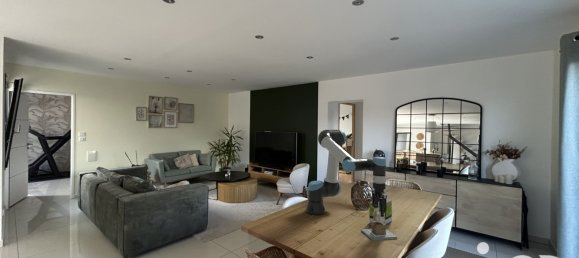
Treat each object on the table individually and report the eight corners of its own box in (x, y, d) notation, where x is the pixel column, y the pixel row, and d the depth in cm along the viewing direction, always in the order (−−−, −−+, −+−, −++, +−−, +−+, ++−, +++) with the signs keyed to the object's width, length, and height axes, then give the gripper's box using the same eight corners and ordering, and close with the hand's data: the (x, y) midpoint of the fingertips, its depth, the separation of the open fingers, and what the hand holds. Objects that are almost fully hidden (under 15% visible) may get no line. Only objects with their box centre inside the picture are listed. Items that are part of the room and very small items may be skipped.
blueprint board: (361, 230, 160) (361, 228, 160) (383, 229, 163) (383, 227, 163) (372, 240, 147) (372, 238, 147) (397, 238, 150) (397, 236, 150)
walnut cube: (371, 231, 157) (371, 221, 157) (380, 230, 158) (380, 221, 158) (376, 235, 151) (377, 225, 151) (385, 234, 152) (386, 224, 152)
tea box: (378, 217, 185) (379, 197, 185) (392, 221, 178) (392, 200, 178) (368, 222, 175) (369, 201, 174) (382, 227, 167) (383, 204, 167)
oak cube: (373, 219, 157) (373, 211, 157) (380, 218, 158) (380, 210, 158) (377, 222, 152) (377, 214, 152) (384, 221, 153) (384, 213, 153)
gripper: (366, 179, 163) (366, 215, 163) (381, 185, 145) (381, 226, 145) (376, 179, 164) (376, 214, 164) (393, 185, 147) (393, 225, 147)
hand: (378, 220), depth 155 cm, fingers closed on oak cube, 5 cm apart
